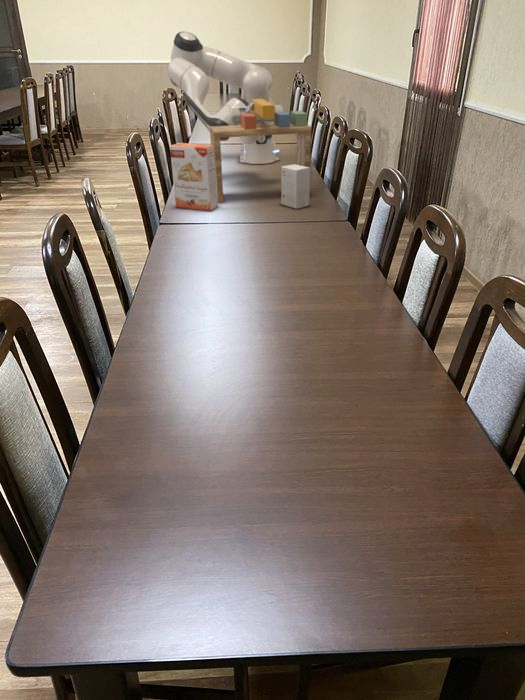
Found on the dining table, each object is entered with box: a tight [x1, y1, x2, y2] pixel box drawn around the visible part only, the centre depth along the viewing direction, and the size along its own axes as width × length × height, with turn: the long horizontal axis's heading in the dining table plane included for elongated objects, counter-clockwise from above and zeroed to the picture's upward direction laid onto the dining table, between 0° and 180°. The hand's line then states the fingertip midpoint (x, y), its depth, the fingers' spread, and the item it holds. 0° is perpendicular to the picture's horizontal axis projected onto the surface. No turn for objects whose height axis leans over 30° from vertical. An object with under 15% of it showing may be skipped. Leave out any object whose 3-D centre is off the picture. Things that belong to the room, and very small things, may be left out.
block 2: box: [273, 111, 291, 127], centre depth 189 cm, size 8×4×4 cm, turn 11°
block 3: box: [290, 110, 308, 127], centre depth 190 cm, size 8×4×4 cm, turn 11°
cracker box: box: [169, 142, 219, 212], centre depth 183 cm, size 14×6×21 cm, turn 68°
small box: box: [280, 163, 311, 209], centre depth 185 cm, size 8×6×13 cm
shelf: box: [209, 122, 312, 204], centre depth 195 cm, size 12×34×24 cm, turn 101°
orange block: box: [252, 99, 275, 119], centre depth 189 cm, size 20×4×4 cm, turn 11°
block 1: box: [241, 113, 256, 129], centre depth 187 cm, size 8×4×4 cm, turn 11°
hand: (259, 104), depth 194 cm, fingers closed on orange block, 4 cm apart
